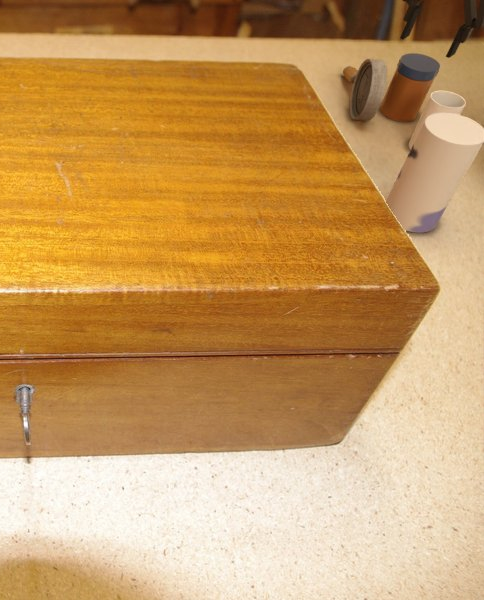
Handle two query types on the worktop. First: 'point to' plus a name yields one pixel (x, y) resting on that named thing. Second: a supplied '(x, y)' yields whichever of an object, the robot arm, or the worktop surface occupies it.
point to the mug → (439, 108)
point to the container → (434, 170)
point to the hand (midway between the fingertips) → (427, 46)
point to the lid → (418, 67)
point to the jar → (404, 97)
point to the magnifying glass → (366, 88)
